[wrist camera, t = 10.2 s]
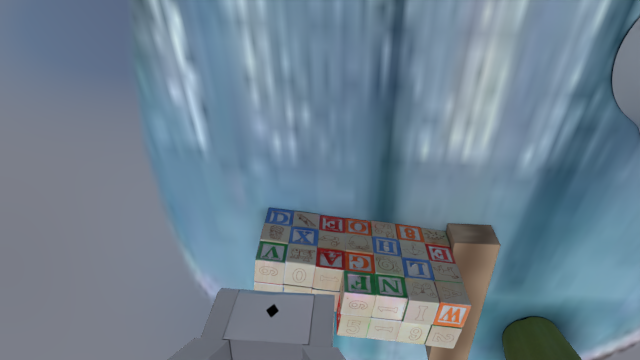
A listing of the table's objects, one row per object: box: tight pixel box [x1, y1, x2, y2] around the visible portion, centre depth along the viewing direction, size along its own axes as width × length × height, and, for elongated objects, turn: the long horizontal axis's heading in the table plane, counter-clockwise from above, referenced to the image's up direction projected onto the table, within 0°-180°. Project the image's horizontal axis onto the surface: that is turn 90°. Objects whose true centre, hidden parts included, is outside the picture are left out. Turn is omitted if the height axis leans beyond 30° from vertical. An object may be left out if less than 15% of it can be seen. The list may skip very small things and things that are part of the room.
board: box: [425, 223, 500, 360], centre depth 54 cm, size 5×20×4 cm, turn 179°
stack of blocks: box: [254, 208, 471, 348], centre depth 47 cm, size 21×6×12 cm, turn 83°
